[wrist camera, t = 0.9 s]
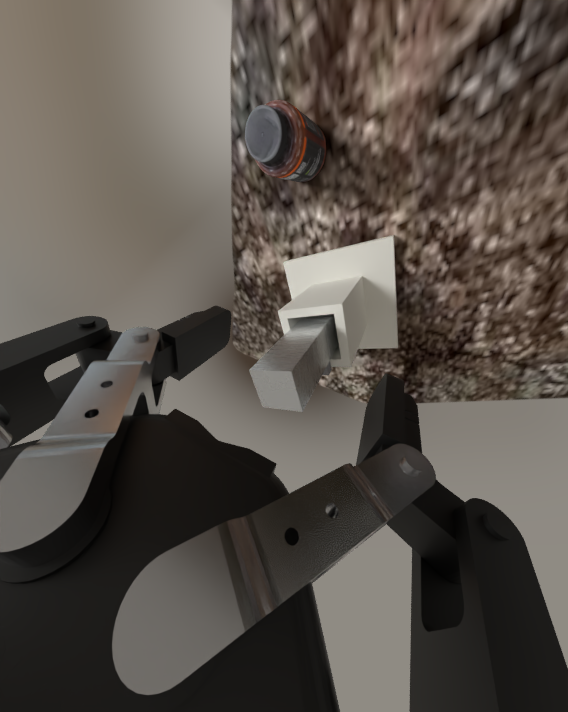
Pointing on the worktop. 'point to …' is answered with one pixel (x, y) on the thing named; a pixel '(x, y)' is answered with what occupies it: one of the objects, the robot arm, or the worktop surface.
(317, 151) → the supplement bottle
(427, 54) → the worktop surface
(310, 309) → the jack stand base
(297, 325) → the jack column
